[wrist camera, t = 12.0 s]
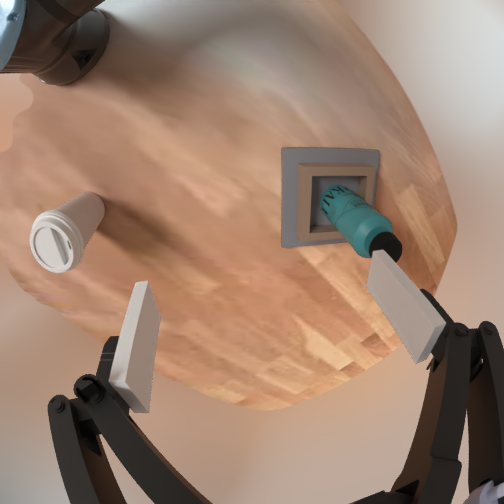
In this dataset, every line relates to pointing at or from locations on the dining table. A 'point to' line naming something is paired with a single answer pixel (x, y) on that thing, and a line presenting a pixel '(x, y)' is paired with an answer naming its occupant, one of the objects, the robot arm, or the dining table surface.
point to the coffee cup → (66, 232)
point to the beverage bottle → (359, 223)
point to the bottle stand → (321, 189)
